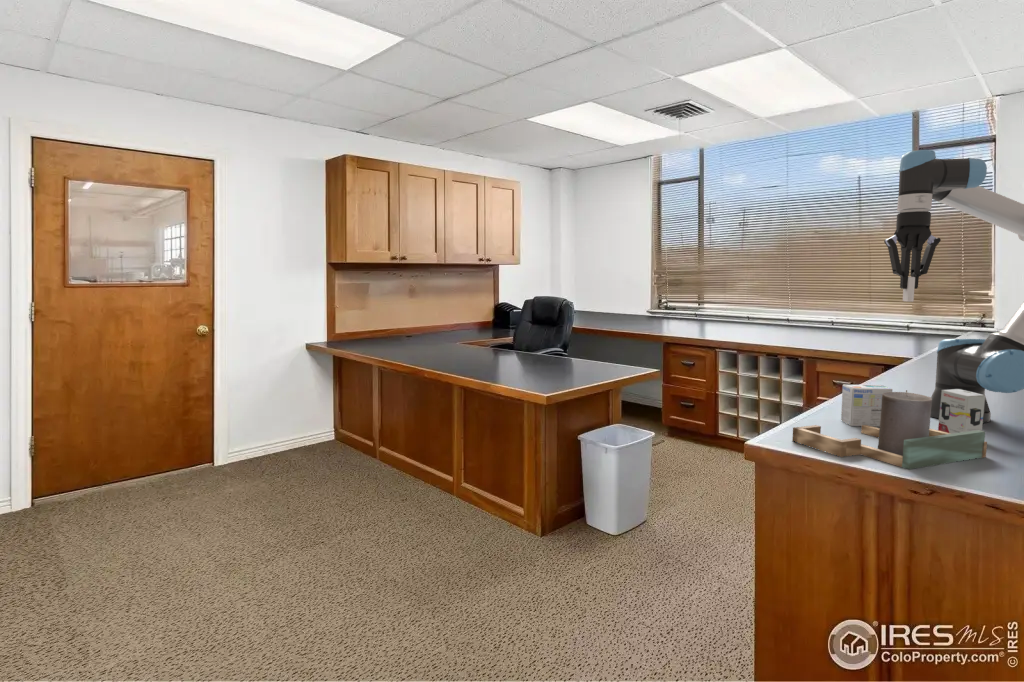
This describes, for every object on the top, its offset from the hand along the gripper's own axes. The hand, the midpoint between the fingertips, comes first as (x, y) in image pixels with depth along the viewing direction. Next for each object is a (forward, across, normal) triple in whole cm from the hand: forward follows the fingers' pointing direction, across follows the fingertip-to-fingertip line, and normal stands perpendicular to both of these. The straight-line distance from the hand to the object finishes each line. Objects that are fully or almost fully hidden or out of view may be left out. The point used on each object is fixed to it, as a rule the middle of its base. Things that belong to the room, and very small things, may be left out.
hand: (908, 301), depth 160 cm
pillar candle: (+35, -11, -28) cm, 46 cm away
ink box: (+35, +10, -9) cm, 37 cm away
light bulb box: (+35, -8, +2) cm, 36 cm away
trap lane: (+34, -14, -23) cm, 44 cm away
